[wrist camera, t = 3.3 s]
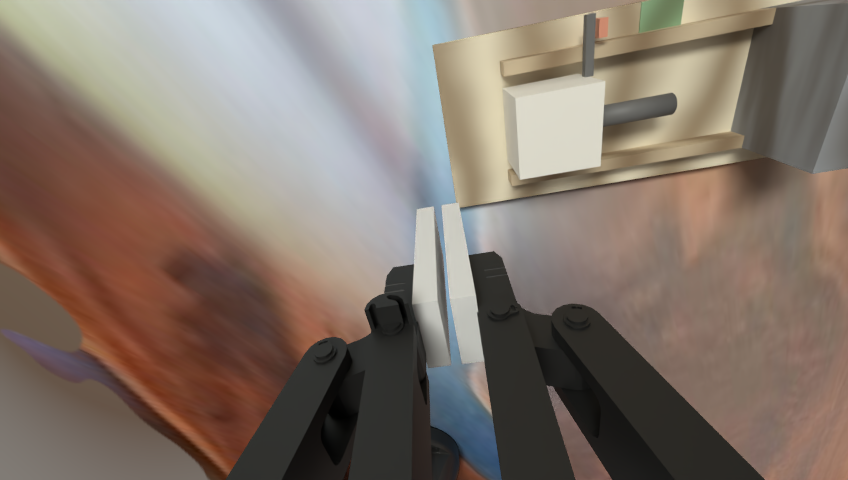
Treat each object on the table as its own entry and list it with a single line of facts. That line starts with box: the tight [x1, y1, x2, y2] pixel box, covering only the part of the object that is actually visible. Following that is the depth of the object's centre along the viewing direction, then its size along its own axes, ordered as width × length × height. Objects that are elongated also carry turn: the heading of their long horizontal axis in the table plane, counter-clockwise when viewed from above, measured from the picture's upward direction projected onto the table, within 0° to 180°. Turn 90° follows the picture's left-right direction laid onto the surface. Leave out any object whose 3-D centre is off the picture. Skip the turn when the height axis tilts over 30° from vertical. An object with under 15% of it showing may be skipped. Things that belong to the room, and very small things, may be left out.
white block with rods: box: [502, 13, 677, 180], centre depth 27 cm, size 12×10×5 cm
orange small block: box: [595, 17, 609, 38], centre depth 26 cm, size 1×1×2 cm, turn 10°
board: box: [432, 0, 848, 208], centre depth 27 cm, size 28×14×9 cm, turn 100°
